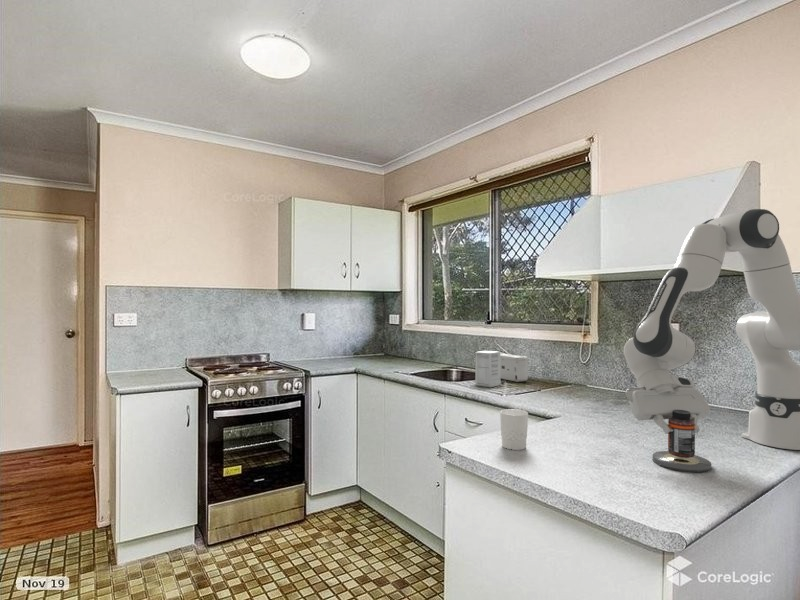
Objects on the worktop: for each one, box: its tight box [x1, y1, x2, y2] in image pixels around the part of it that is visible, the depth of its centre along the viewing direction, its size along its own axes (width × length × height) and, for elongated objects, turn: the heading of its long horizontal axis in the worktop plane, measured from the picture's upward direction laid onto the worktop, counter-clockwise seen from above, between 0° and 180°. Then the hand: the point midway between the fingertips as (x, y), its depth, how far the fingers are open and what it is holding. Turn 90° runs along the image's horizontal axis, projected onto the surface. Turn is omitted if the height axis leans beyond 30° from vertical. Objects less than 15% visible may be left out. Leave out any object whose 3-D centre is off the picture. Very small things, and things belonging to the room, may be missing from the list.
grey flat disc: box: [652, 450, 712, 474], centre depth 121 cm, size 13×13×1 cm
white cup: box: [499, 408, 529, 451], centre depth 136 cm, size 8×8×10 cm
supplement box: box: [474, 350, 502, 388], centre depth 235 cm, size 10×9×17 cm
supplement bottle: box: [667, 410, 696, 458], centre depth 121 cm, size 6×6×11 cm
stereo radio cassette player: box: [493, 340, 529, 383], centre depth 253 cm, size 21×8×20 cm, turn 30°
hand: (683, 432), depth 121 cm, fingers closed on supplement bottle, 6 cm apart
